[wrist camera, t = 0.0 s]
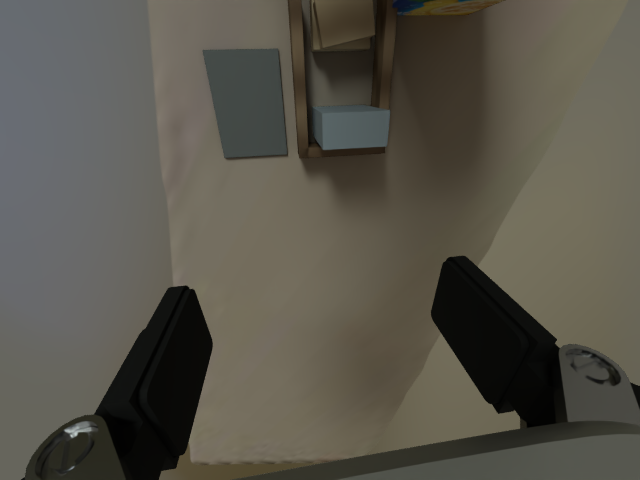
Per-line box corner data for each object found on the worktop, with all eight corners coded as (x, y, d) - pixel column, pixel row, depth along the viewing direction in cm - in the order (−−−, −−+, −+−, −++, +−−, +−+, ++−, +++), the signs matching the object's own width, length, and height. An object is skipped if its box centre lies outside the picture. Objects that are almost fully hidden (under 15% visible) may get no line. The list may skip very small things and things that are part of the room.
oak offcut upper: (312, 4, 28) (314, -1, 27) (365, -9, 28) (371, -15, 27) (320, 50, 30) (322, 47, 29) (370, 37, 30) (375, 34, 29)
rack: (287, -2, 29) (288, -12, 26) (387, -2, 30) (399, -12, 27) (298, 152, 38) (299, 158, 35) (376, 148, 39) (384, 153, 36)
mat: (203, 50, 31) (202, 50, 30) (277, 49, 31) (277, 48, 31) (224, 157, 37) (224, 157, 36) (287, 153, 37) (287, 154, 37)
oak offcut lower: (309, 2, 30) (311, -5, 28) (366, 2, 31) (372, -5, 28) (311, 52, 32) (313, 49, 30) (364, 50, 33) (370, 48, 31)
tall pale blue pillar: (311, 106, 35) (322, 113, 26) (363, 104, 36) (390, 110, 27) (312, 135, 37) (323, 149, 28) (362, 132, 37) (387, 146, 29)
